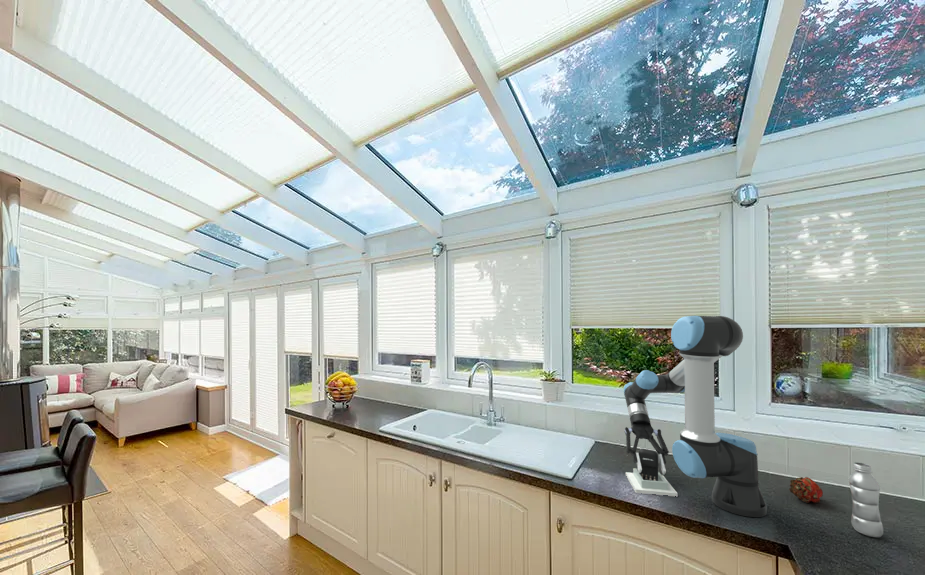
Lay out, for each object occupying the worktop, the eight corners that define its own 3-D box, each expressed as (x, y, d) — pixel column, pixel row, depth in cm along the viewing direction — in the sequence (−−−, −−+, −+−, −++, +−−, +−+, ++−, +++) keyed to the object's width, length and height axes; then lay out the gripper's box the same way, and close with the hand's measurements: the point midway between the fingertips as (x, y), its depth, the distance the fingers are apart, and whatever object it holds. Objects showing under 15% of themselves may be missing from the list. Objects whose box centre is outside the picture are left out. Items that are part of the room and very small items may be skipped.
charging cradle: (662, 478, 149) (662, 468, 149) (677, 496, 133) (677, 486, 134) (625, 475, 152) (625, 465, 152) (635, 492, 136) (635, 482, 137)
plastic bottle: (865, 527, 114) (859, 460, 116) (891, 540, 107) (885, 469, 109) (845, 528, 114) (839, 460, 116) (870, 541, 107) (864, 469, 109)
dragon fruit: (801, 510, 127) (806, 504, 135) (828, 502, 123) (831, 496, 131) (781, 484, 132) (787, 479, 140) (806, 475, 128) (811, 471, 136)
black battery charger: (637, 480, 143) (637, 449, 144) (639, 476, 146) (639, 446, 147) (658, 485, 140) (658, 453, 140) (659, 481, 143) (658, 450, 144)
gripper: (663, 423, 157) (679, 478, 140) (612, 420, 161) (621, 474, 144) (667, 413, 153) (684, 469, 135) (614, 410, 157) (624, 465, 139)
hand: (652, 471), depth 140 cm, fingers open, 8 cm apart
